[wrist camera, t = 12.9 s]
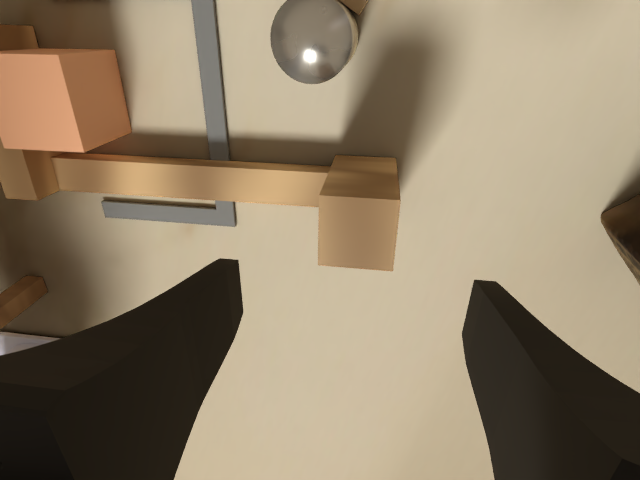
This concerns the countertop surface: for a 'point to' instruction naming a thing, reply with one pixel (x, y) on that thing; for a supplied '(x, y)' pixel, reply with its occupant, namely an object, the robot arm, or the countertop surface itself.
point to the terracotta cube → (61, 99)
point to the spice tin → (313, 39)
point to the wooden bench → (20, 297)
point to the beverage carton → (625, 232)
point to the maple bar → (355, 5)
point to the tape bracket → (215, 131)
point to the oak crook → (228, 185)
